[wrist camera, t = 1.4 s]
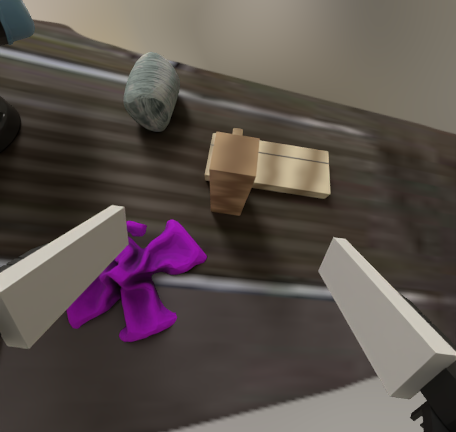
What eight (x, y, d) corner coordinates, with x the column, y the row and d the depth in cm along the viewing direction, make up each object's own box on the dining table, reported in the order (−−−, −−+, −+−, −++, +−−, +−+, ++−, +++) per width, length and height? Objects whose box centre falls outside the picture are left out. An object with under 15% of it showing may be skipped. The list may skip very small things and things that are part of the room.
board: (205, 180, 34) (204, 174, 32) (213, 140, 36) (213, 132, 34) (324, 198, 34) (330, 194, 32) (322, 158, 37) (328, 151, 35)
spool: (176, 133, 32) (136, 66, 25) (137, 143, 36) (92, 87, 29) (199, 97, 40) (173, 37, 32) (164, 109, 44) (134, 57, 36)
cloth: (214, 229, 31) (214, 217, 26) (180, 357, 25) (170, 380, 19) (87, 198, 32) (58, 179, 26) (23, 317, 25) (-34, 329, 20)
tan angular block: (211, 211, 32) (209, 169, 19) (221, 149, 36) (226, 82, 24) (239, 215, 32) (256, 176, 20) (247, 153, 36) (264, 88, 24)
